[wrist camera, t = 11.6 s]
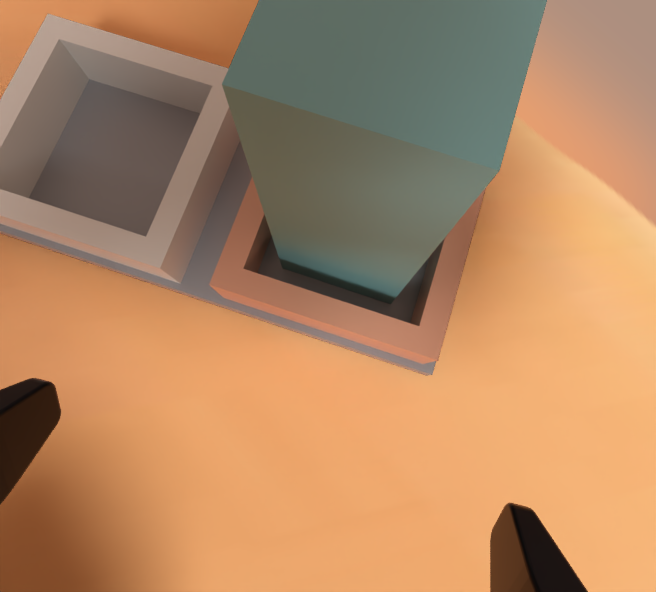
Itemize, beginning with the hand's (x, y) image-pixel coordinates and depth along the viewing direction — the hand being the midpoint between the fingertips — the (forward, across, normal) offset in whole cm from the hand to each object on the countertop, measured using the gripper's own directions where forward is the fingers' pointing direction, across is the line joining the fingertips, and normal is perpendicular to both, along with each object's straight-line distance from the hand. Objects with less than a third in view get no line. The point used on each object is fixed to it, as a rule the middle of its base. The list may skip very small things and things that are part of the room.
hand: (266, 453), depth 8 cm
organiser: (+14, +6, 0) cm, 15 cm away
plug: (+13, 0, 0) cm, 13 cm away
